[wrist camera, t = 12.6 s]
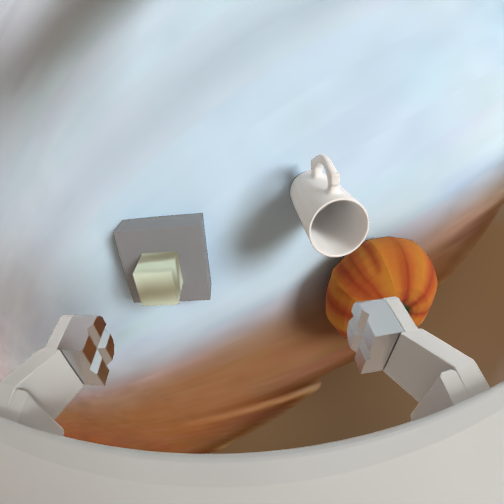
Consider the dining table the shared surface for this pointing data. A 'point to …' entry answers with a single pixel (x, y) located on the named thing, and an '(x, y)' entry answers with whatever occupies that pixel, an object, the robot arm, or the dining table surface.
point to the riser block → (167, 250)
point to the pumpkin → (381, 279)
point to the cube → (158, 278)
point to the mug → (328, 210)
